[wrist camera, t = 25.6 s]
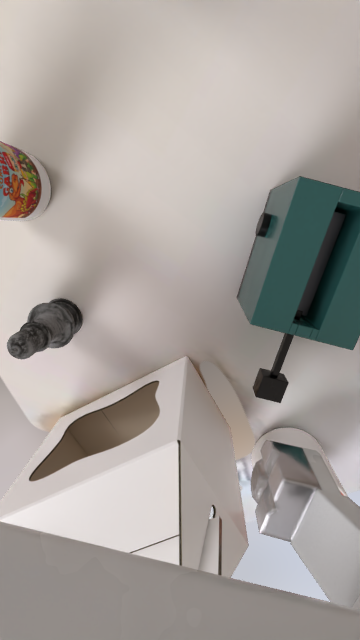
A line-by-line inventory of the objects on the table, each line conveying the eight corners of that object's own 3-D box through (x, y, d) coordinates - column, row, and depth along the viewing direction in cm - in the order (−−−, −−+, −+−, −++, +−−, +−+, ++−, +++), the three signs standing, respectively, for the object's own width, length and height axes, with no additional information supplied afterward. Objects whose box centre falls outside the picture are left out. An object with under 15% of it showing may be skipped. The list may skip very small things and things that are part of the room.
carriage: (276, 393, 36) (280, 403, 34) (252, 387, 35) (255, 397, 34) (345, 216, 30) (355, 215, 28) (316, 208, 30) (325, 207, 28)
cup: (236, 459, 47) (245, 519, 37) (277, 411, 44) (299, 463, 34) (290, 490, 48) (313, 556, 38) (334, 445, 45) (370, 504, 35)
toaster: (312, 317, 40) (353, 350, 29) (230, 296, 39) (241, 322, 29) (354, 212, 36) (418, 207, 25) (263, 188, 36) (290, 173, 25)
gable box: (106, 482, 49) (-3, 786, 23) (58, 418, 46) (-134, 682, 20) (232, 428, 45) (281, 724, 18) (188, 353, 42) (170, 579, 15)
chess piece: (93, 319, 41) (52, 356, 30) (64, 346, 43) (15, 391, 31) (60, 287, 40) (5, 312, 29) (32, 316, 42) (-31, 350, 30)
